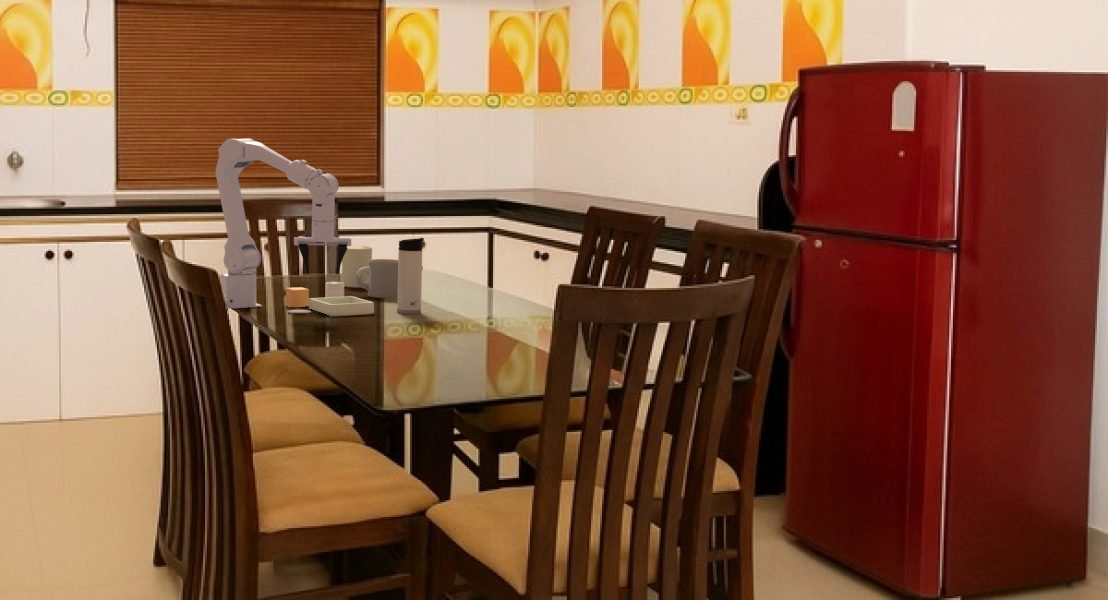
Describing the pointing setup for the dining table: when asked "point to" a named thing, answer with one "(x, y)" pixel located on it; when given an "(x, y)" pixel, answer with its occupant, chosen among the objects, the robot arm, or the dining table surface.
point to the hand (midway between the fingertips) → (322, 273)
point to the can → (355, 264)
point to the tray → (341, 306)
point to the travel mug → (409, 276)
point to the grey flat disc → (299, 311)
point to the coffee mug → (380, 278)
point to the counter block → (297, 297)
